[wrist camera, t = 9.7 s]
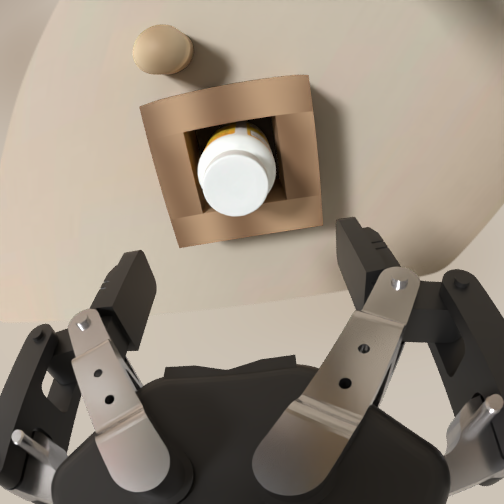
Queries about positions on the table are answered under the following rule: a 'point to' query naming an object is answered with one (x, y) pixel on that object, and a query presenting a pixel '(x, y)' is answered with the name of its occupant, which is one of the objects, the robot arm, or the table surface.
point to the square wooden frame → (226, 111)
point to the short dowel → (162, 50)
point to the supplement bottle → (236, 169)
